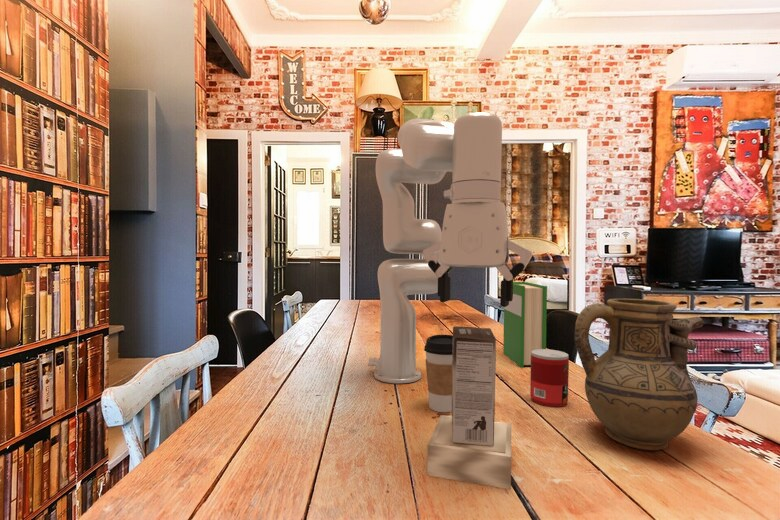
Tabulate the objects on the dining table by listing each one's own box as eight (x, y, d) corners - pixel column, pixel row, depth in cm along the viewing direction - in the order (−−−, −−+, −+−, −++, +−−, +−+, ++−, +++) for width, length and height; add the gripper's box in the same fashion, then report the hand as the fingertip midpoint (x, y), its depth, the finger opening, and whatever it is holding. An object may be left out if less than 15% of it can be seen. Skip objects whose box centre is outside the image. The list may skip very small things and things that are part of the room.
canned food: (571, 408, 89) (572, 358, 89) (532, 405, 90) (533, 355, 90) (563, 396, 96) (564, 350, 96) (528, 394, 98) (528, 348, 98)
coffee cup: (465, 403, 91) (466, 335, 91) (459, 417, 83) (459, 343, 83) (428, 398, 94) (429, 333, 94) (418, 411, 86) (419, 340, 86)
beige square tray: (427, 478, 62) (427, 443, 61) (440, 442, 73) (441, 414, 73) (510, 492, 58) (511, 456, 58) (511, 452, 70) (511, 422, 70)
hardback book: (545, 367, 121) (547, 286, 120) (520, 367, 121) (521, 286, 120) (525, 353, 138) (526, 282, 138) (503, 353, 138) (504, 281, 138)
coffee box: (451, 419, 71) (452, 325, 70) (489, 422, 70) (491, 327, 69) (450, 443, 62) (452, 335, 61) (495, 447, 61) (497, 337, 60)
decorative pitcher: (589, 458, 67) (592, 305, 67) (559, 416, 85) (561, 294, 84) (735, 469, 64) (739, 309, 64) (673, 422, 82) (675, 297, 81)
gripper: (416, 195, 65) (414, 302, 66) (529, 189, 58) (526, 311, 58) (433, 200, 72) (431, 297, 73) (536, 196, 64) (534, 304, 65)
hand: (473, 303), depth 65 cm, fingers open, 9 cm apart
